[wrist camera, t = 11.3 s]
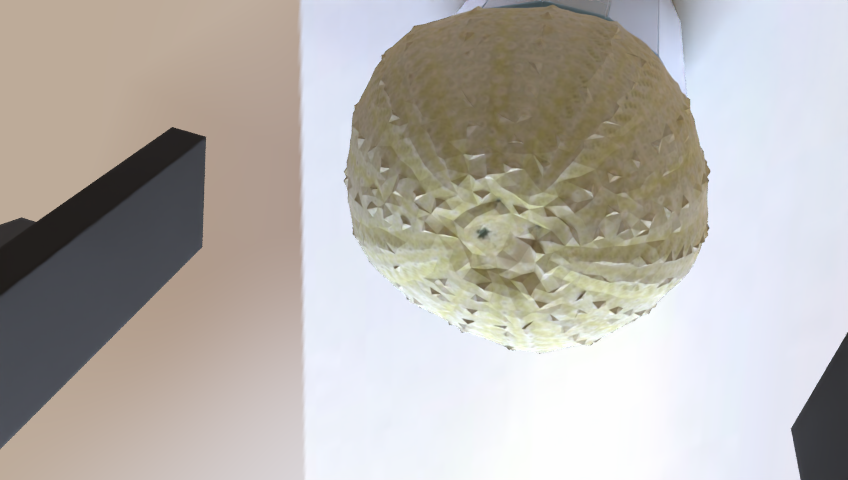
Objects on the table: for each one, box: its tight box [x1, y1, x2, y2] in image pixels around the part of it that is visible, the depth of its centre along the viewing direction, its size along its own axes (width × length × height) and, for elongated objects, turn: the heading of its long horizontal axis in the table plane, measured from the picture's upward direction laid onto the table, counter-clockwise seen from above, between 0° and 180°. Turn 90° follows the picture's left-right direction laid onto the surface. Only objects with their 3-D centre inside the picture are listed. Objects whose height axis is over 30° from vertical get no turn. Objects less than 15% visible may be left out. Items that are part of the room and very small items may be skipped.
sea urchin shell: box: [344, 5, 710, 354], centre depth 20 cm, size 9×8×8 cm
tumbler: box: [454, 0, 687, 97], centre depth 26 cm, size 8×8×10 cm
